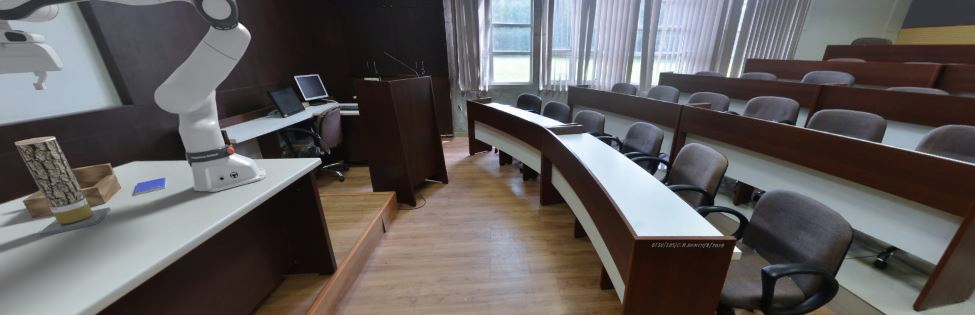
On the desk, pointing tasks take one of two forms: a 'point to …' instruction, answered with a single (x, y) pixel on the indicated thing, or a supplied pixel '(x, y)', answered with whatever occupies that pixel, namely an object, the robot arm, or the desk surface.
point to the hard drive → (150, 186)
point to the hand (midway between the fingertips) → (14, 91)
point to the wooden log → (55, 179)
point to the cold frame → (93, 183)
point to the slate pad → (92, 220)
